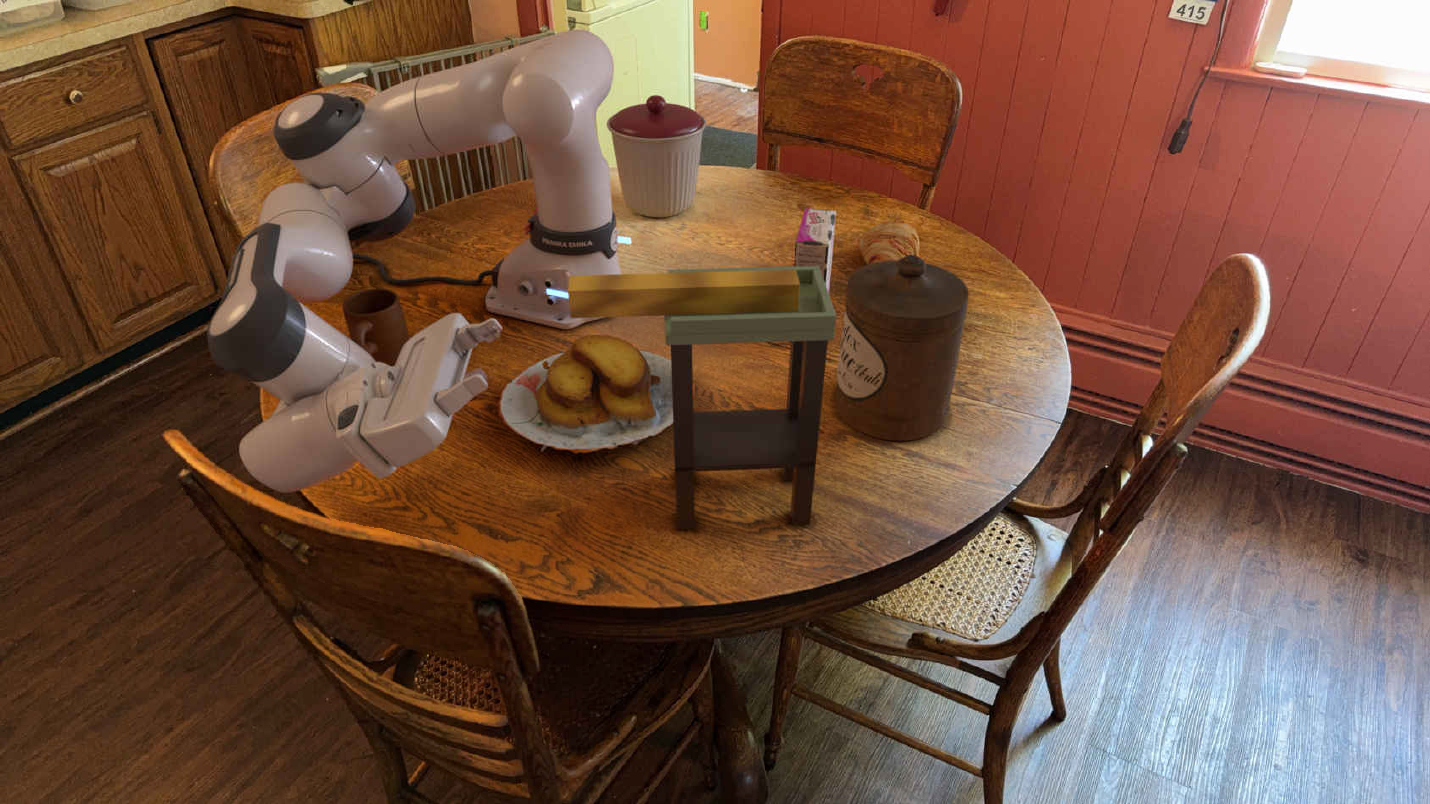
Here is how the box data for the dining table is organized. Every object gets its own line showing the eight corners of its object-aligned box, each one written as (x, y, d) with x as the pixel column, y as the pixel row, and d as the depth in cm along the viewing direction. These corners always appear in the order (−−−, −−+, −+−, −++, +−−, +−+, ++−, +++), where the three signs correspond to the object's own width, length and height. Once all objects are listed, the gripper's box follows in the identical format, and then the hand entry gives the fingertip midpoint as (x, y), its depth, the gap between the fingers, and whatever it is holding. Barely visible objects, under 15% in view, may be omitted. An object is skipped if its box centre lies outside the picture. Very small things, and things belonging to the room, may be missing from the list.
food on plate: (465, 444, 107) (455, 402, 104) (555, 343, 126) (550, 304, 123) (653, 487, 101) (650, 445, 97) (719, 374, 120) (719, 334, 116)
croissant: (893, 310, 141) (923, 276, 135) (842, 277, 140) (870, 241, 135) (909, 251, 157) (936, 219, 151) (863, 222, 156) (888, 187, 151)
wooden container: (826, 376, 120) (840, 232, 106) (930, 373, 120) (957, 229, 107) (845, 444, 108) (863, 291, 95) (960, 440, 108) (995, 287, 95)
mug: (398, 391, 117) (382, 332, 111) (341, 392, 116) (322, 333, 111) (419, 343, 126) (405, 287, 120) (367, 344, 126) (351, 288, 120)
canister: (721, 197, 169) (722, 88, 156) (681, 234, 156) (678, 118, 143) (640, 182, 175) (635, 76, 162) (595, 216, 162) (585, 103, 149)
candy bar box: (797, 303, 136) (804, 206, 126) (828, 306, 135) (838, 209, 125) (787, 340, 127) (794, 239, 117) (821, 344, 126) (830, 243, 116)
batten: (570, 318, 82) (567, 290, 80) (573, 302, 84) (570, 275, 83) (798, 311, 83) (800, 284, 81) (794, 296, 86) (795, 269, 84)
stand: (672, 532, 95) (664, 321, 79) (670, 473, 103) (663, 269, 87) (814, 526, 96) (836, 315, 80) (802, 467, 104) (819, 265, 88)
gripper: (421, 372, 99) (521, 321, 96) (377, 491, 82) (496, 434, 79) (384, 331, 95) (487, 277, 92) (331, 447, 79) (454, 386, 76)
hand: (491, 350), depth 86 cm, fingers open, 8 cm apart
